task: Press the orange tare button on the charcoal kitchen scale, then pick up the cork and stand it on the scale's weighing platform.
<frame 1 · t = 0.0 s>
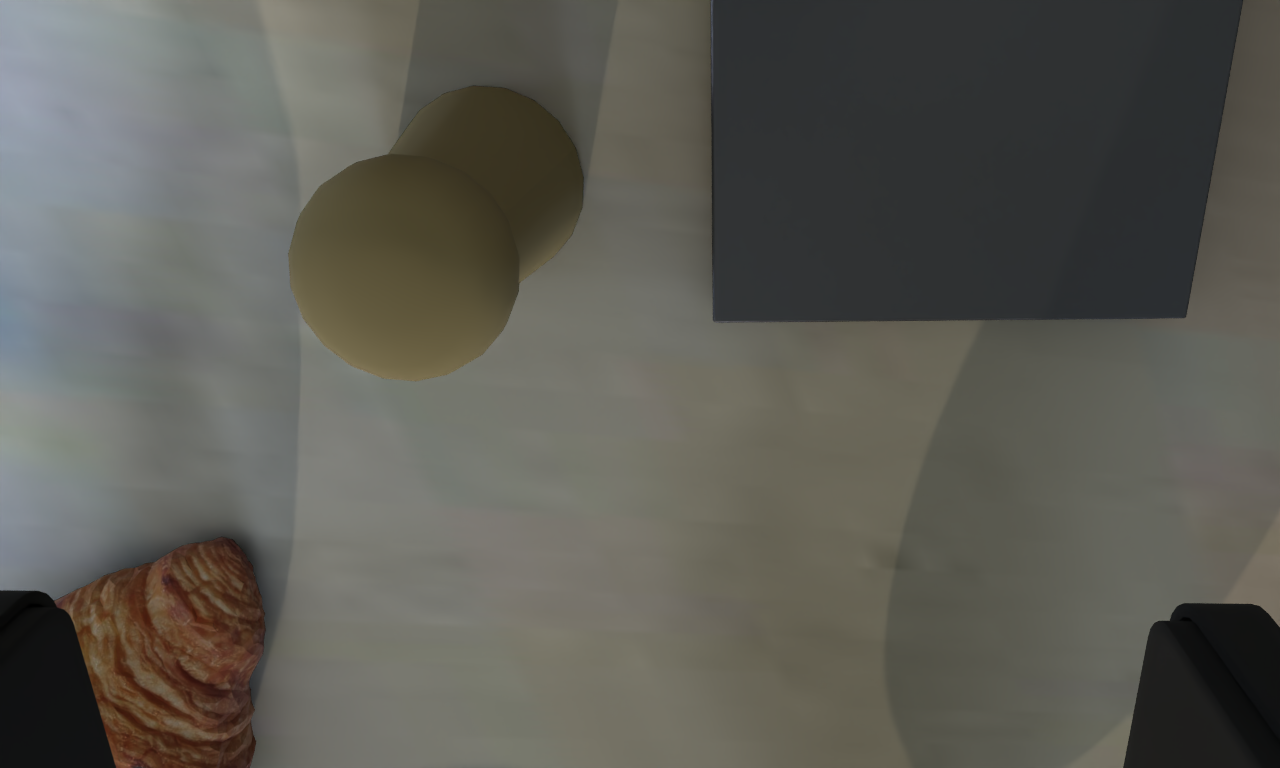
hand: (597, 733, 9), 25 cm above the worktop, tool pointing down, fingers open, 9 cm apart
pastry: (123, 707, 42), on the worktop
cork: (489, 183, 32), on the worktop
scale: (954, 37, 30), on the worktop
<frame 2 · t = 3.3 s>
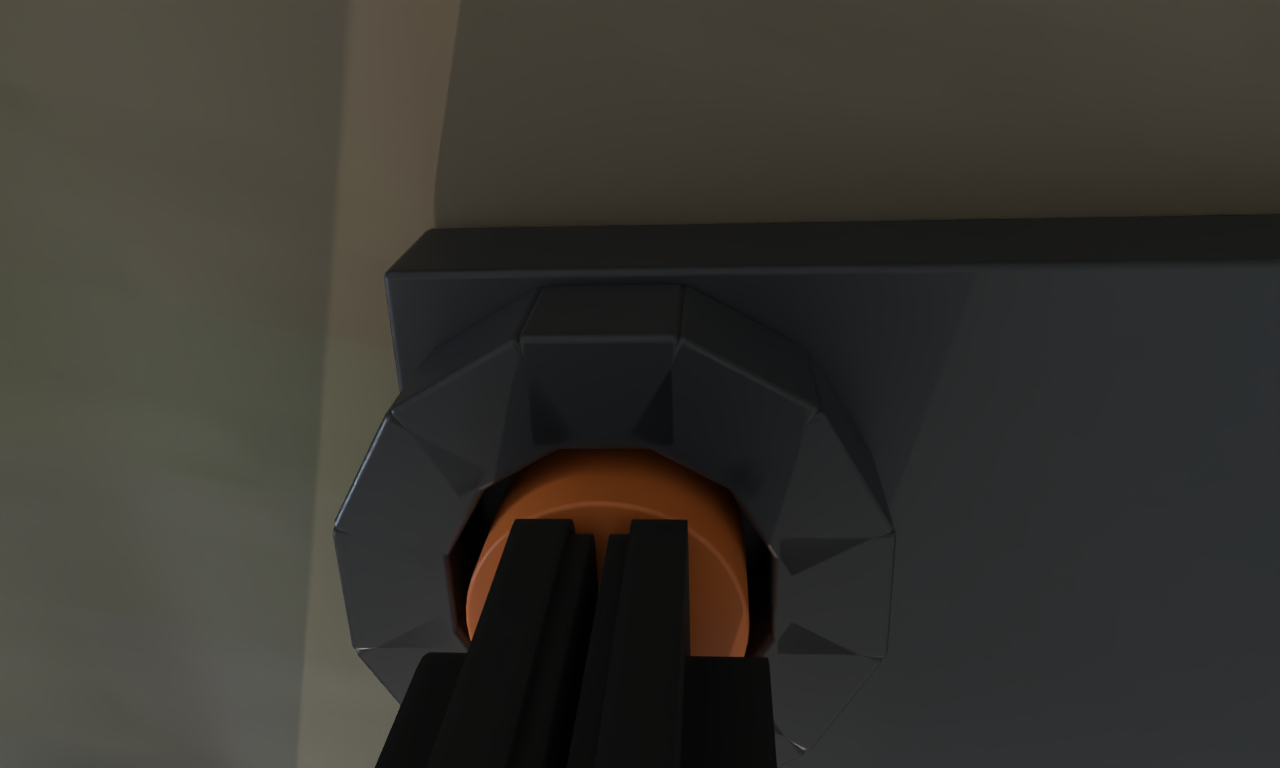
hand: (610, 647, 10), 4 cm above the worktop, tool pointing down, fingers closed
tare button: (613, 582, 11), point 3 cm above the worktop, slide at -0.5 cm, touching gripper
scale: (947, 742, 15), on the worktop
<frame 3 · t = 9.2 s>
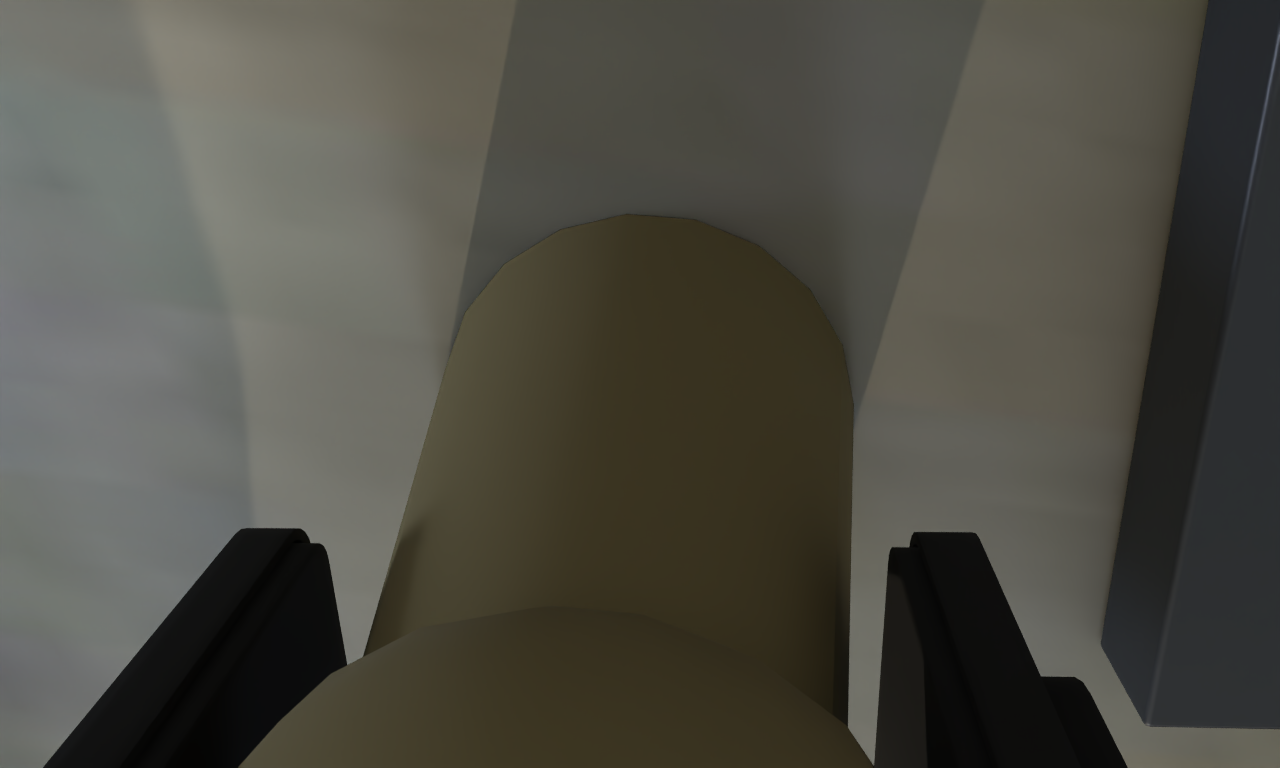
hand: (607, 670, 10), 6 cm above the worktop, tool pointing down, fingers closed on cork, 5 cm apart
cork: (646, 410, 15), on the worktop, touching gripper
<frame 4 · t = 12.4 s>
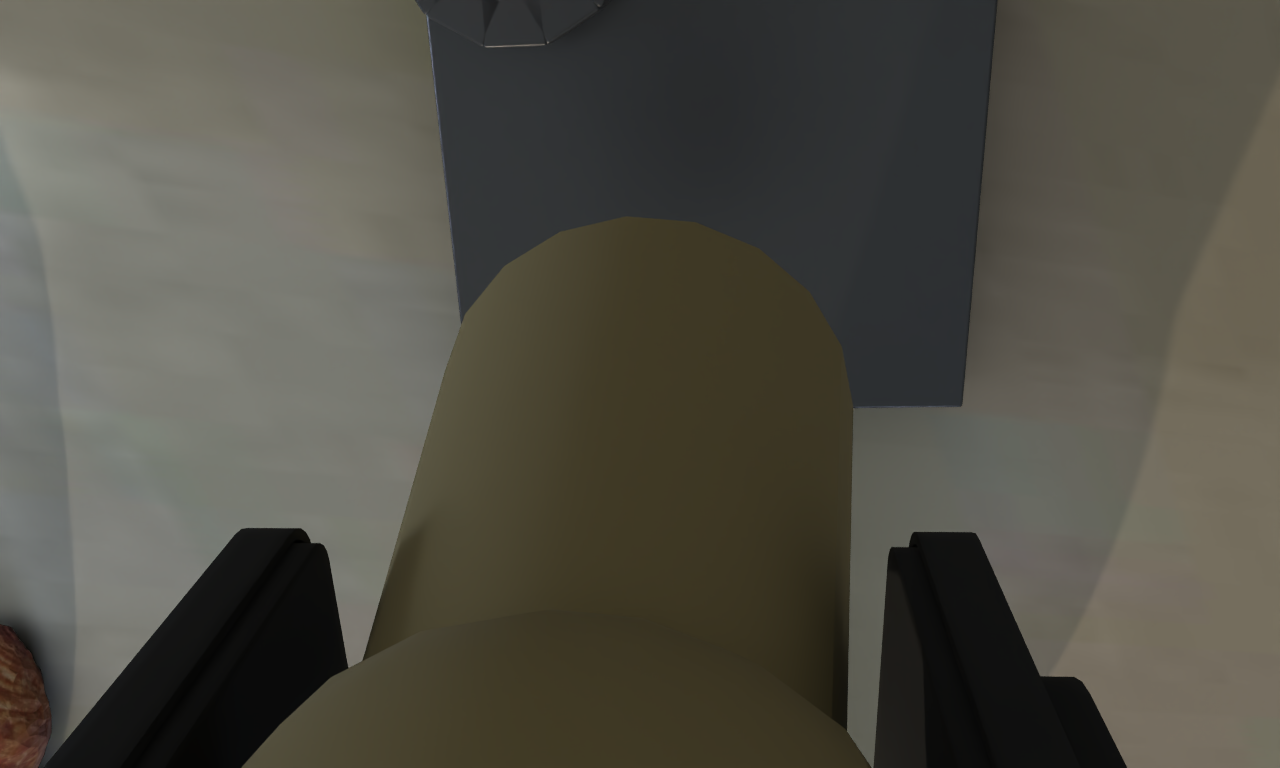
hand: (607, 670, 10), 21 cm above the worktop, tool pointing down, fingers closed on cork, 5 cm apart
cork: (646, 411, 15), point 15 cm above the worktop, touching gripper
scale: (708, 113, 28), on the worktop
when the fingers open (8 cm above the worktop, at t = 15.9 s): cork stays where it is, resting on scale.
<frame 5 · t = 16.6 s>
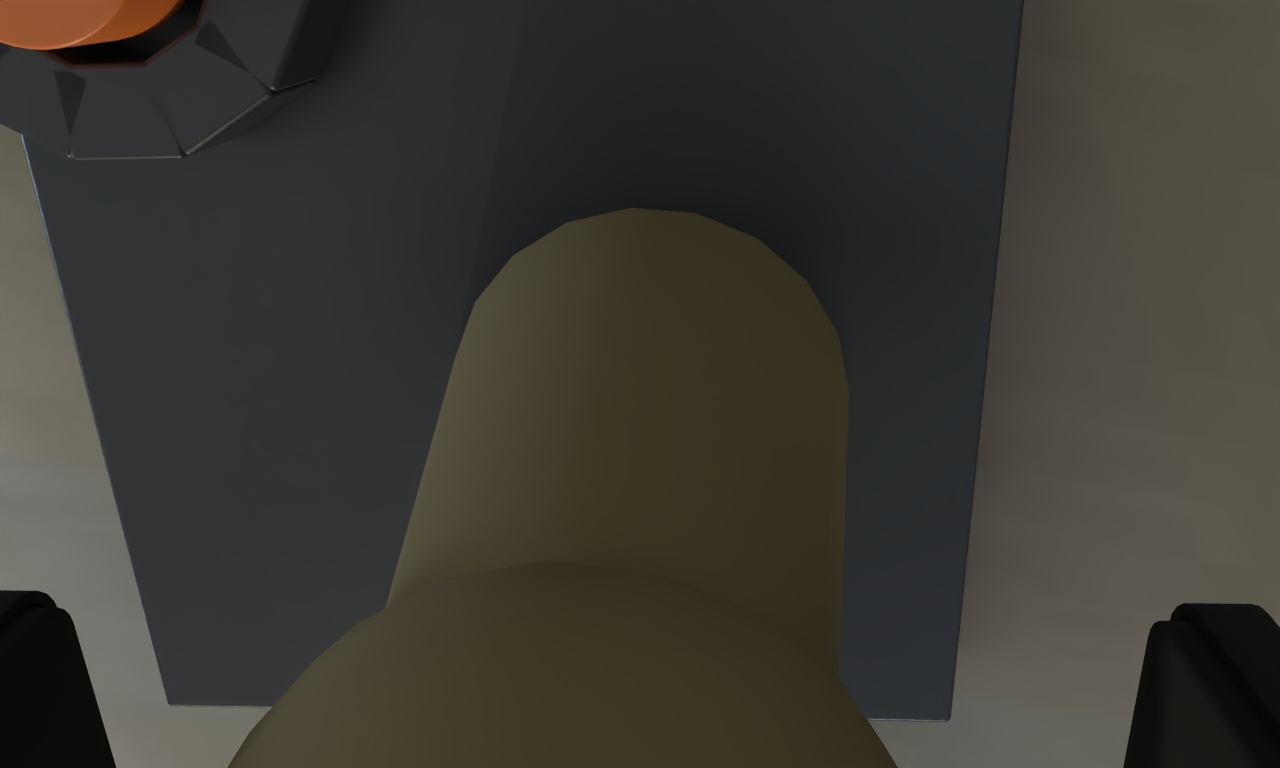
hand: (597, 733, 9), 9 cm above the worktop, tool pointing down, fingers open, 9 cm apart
cork: (649, 397, 16), point 2 cm above the worktop, touching scale
scale: (532, 247, 17), on the worktop
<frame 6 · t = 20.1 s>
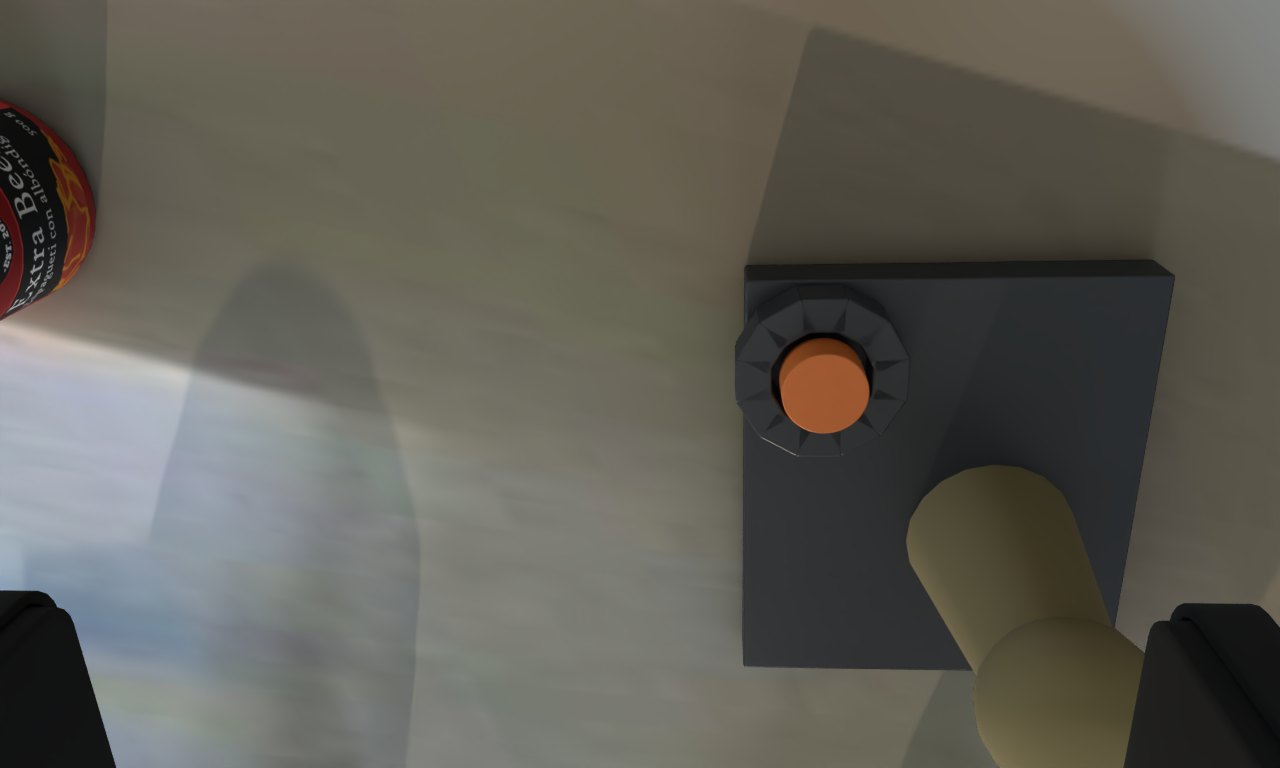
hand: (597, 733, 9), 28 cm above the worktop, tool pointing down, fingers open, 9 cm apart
cork: (988, 535, 38), point 2 cm above the worktop, touching scale
tare button: (823, 385, 34), point 4 cm above the worktop, slide at 0.1 cm
scale: (929, 466, 39), on the worktop
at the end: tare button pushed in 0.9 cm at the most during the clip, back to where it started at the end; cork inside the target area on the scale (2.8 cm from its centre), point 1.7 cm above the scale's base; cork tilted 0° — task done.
